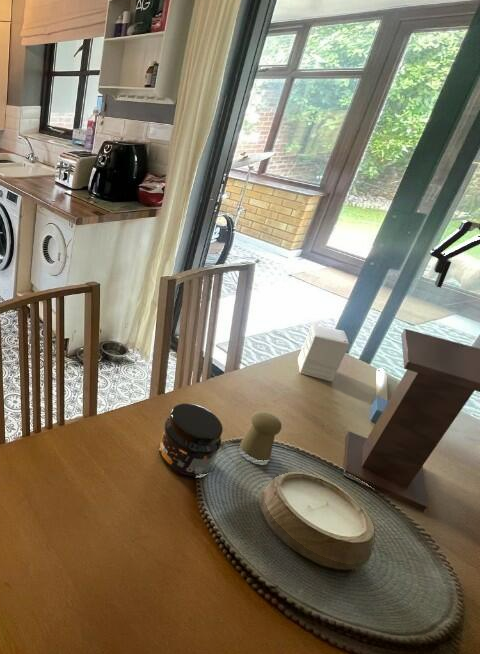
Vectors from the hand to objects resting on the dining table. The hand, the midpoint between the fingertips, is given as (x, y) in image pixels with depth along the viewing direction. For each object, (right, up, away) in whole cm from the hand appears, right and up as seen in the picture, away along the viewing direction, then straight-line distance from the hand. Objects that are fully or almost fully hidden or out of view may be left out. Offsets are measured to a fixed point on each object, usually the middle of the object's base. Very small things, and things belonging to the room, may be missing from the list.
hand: (479, 292), depth 97 cm
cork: (-58, -36, -6) cm, 69 cm away
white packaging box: (-24, -23, +19) cm, 38 cm away
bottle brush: (-15, -28, +9) cm, 33 cm away
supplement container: (-75, -36, -8) cm, 83 cm away
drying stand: (-34, -37, -11) cm, 52 cm away
